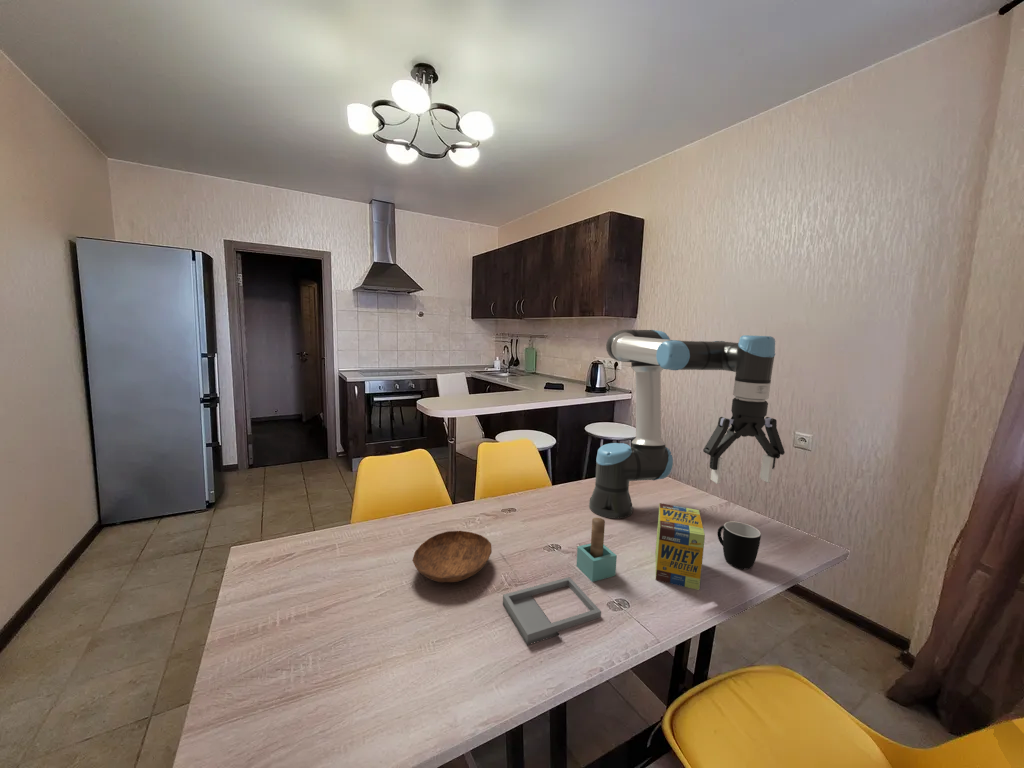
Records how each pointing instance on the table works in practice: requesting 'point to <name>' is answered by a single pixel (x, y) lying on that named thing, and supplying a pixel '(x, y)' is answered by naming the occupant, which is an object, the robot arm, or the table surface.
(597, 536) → the dowel
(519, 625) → the tray
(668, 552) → the protein box
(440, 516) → the table surface
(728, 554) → the mug
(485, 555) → the bowl
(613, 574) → the teal square container
